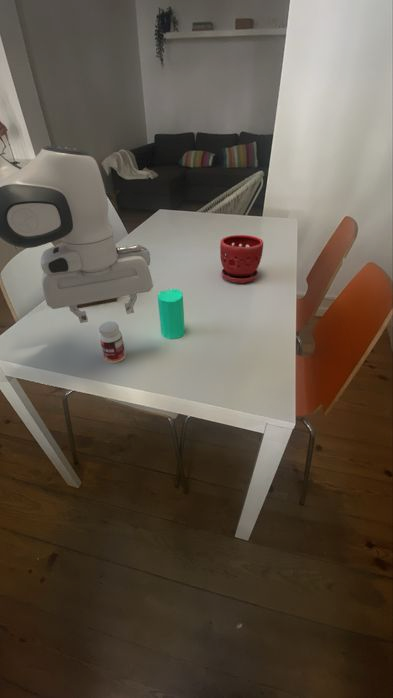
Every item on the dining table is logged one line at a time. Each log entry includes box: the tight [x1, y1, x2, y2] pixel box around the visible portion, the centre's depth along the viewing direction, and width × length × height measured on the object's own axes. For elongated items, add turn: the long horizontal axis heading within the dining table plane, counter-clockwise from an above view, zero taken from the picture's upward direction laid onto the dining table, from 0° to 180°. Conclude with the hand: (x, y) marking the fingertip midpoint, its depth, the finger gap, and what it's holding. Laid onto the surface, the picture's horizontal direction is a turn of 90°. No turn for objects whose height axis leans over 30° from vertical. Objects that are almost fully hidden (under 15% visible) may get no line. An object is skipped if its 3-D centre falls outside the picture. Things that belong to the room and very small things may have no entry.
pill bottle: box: [98, 321, 127, 364], centre depth 70 cm, size 5×5×8 cm
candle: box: [157, 288, 186, 340], centre depth 76 cm, size 6×6×12 cm
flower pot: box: [219, 234, 264, 284], centre depth 100 cm, size 13×13×12 cm
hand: (107, 316), depth 66 cm, fingers open, 8 cm apart
